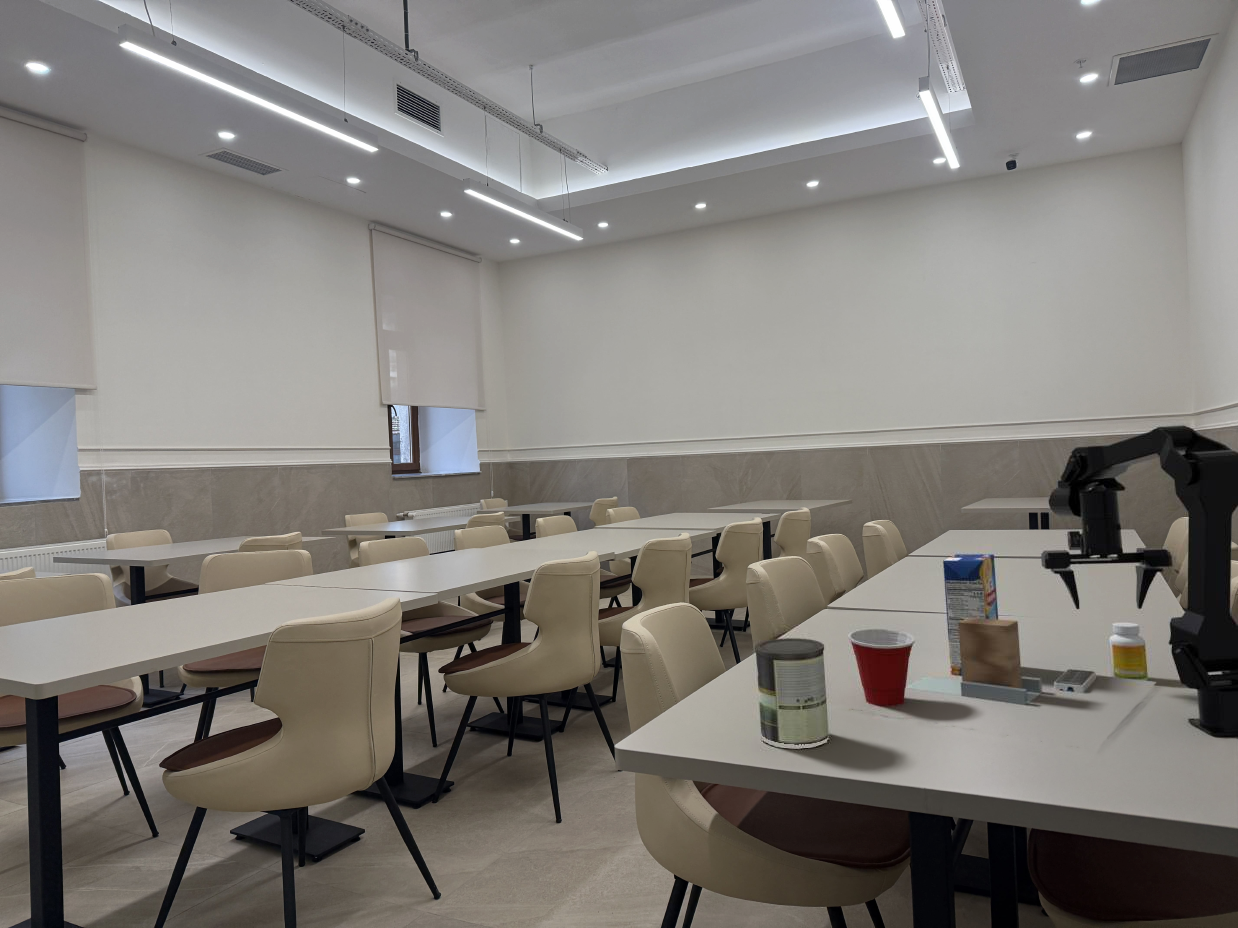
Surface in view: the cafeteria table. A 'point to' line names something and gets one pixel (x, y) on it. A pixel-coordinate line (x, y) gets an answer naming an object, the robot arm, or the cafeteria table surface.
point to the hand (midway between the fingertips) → (1108, 608)
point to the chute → (982, 689)
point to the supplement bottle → (1128, 652)
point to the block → (990, 652)
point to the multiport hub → (1075, 680)
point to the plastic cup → (882, 664)
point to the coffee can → (792, 690)
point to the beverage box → (968, 596)
